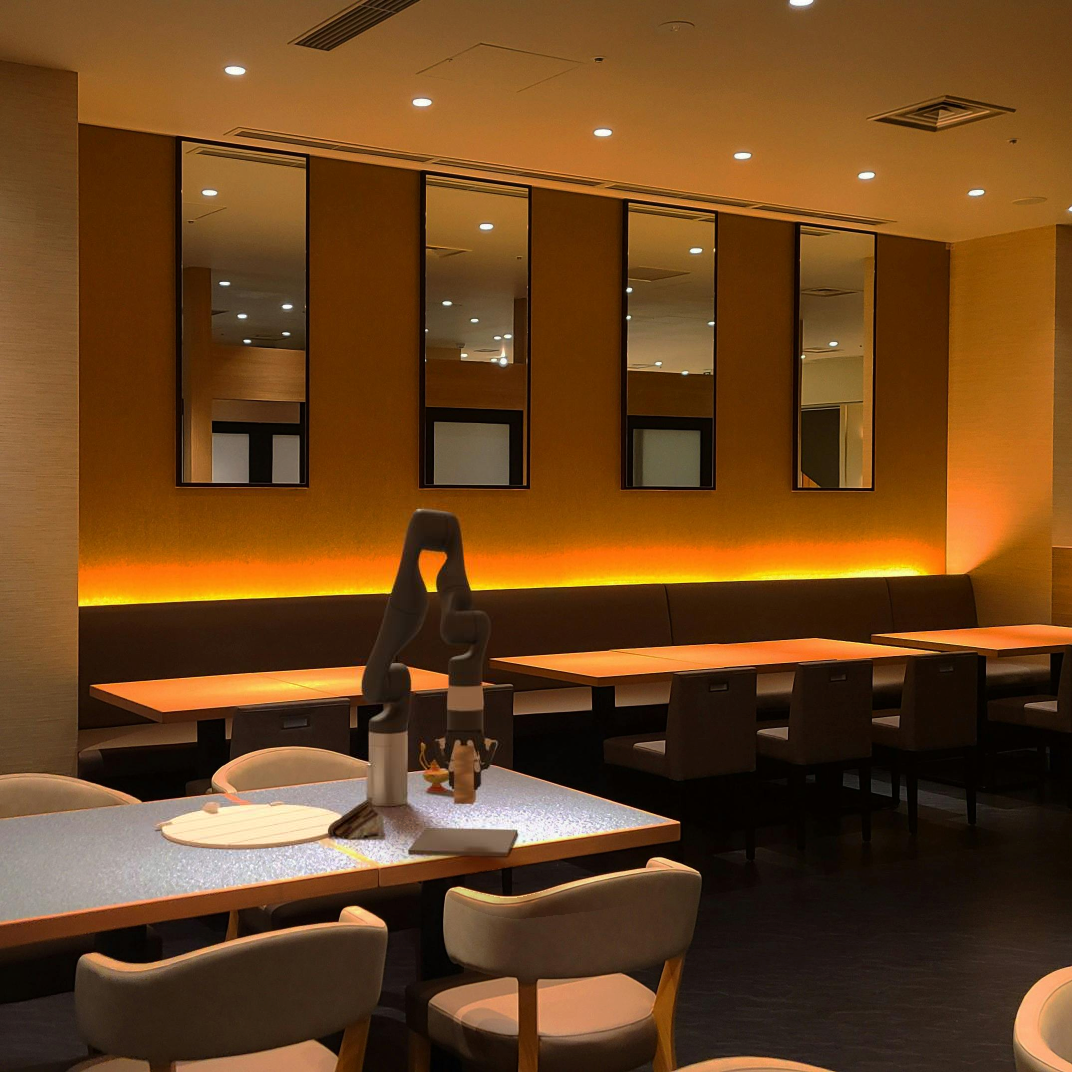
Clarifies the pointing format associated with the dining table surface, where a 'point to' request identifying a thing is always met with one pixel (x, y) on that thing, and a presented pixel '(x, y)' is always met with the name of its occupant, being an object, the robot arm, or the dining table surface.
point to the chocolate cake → (358, 822)
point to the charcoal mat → (464, 842)
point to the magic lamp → (434, 774)
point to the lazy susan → (249, 826)
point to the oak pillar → (464, 775)
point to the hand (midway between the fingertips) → (465, 788)
